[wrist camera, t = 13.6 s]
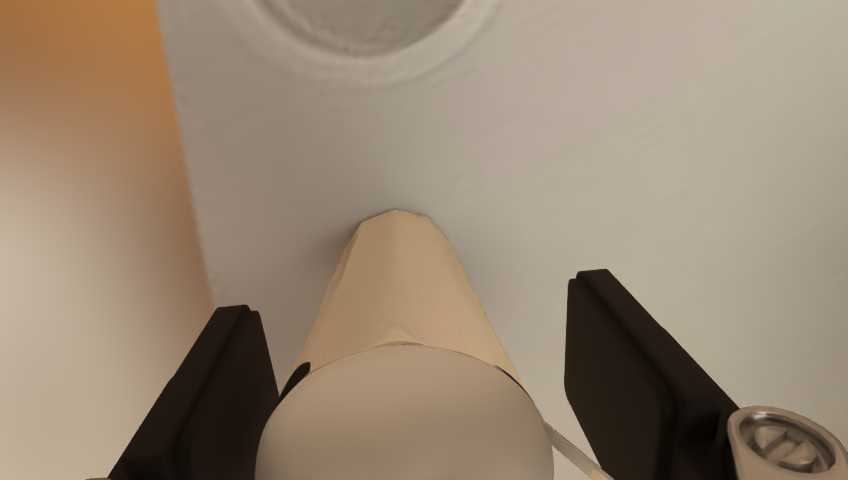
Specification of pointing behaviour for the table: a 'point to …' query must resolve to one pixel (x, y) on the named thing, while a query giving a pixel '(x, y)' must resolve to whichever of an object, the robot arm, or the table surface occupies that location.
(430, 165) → the table surface
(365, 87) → the table surface
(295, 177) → the table surface
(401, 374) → the milkshake
